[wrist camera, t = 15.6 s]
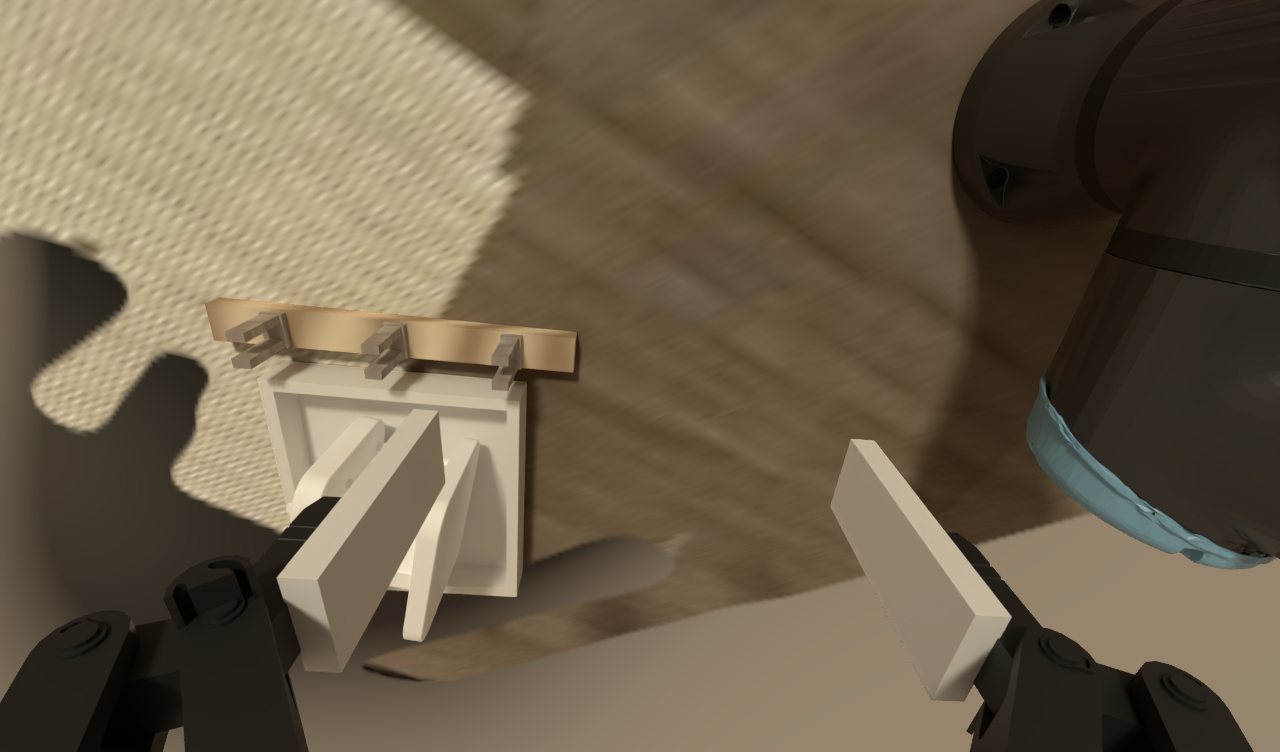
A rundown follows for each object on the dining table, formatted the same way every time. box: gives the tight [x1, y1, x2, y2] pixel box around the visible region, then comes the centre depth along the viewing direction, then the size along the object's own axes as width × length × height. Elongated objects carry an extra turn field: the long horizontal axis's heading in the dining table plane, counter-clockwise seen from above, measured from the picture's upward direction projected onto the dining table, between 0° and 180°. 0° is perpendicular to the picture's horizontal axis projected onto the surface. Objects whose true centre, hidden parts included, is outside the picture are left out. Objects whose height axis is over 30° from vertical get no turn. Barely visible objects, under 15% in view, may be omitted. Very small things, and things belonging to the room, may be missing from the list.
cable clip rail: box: [205, 298, 577, 391], centre depth 39 cm, size 28×3×6 cm, turn 83°
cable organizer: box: [287, 415, 480, 642], centre depth 42 cm, size 15×11×12 cm
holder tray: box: [257, 361, 527, 597], centre depth 46 cm, size 20×22×4 cm
